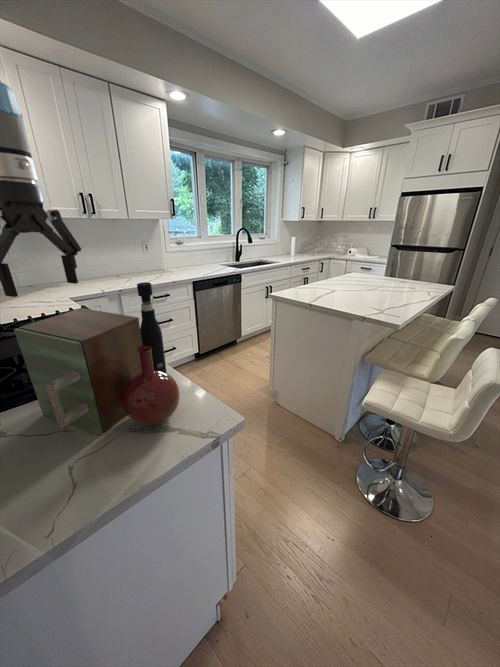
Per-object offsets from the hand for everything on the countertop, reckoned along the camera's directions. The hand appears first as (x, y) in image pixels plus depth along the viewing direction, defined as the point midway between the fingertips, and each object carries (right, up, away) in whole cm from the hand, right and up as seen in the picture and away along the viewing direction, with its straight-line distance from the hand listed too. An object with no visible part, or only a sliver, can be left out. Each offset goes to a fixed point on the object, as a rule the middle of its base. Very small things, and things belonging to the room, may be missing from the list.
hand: (45, 289), depth 62 cm
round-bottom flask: (+22, -32, +8) cm, 40 cm away
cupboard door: (+1, -33, +3) cm, 34 cm away
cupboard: (+5, -29, +13) cm, 33 cm away
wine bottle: (+16, -24, +28) cm, 40 cm away
